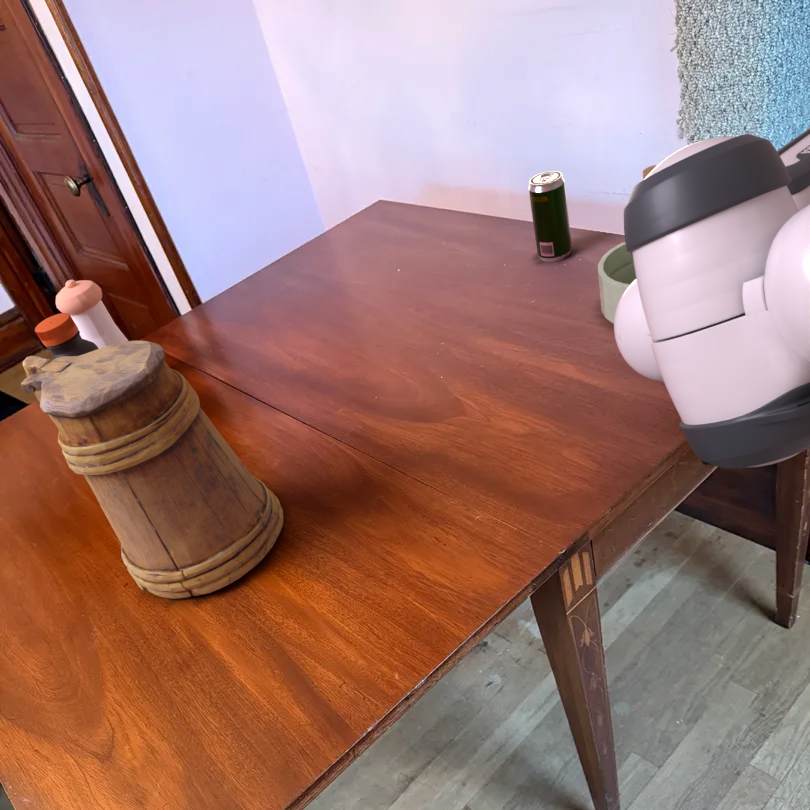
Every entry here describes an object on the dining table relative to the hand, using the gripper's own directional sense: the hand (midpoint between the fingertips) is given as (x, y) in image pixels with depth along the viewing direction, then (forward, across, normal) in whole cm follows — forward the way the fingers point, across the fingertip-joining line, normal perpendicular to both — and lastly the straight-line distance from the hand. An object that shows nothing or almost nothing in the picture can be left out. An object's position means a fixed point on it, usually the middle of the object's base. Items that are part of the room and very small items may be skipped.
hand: (650, 234), depth 95 cm
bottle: (+68, -37, -10) cm, 78 cm away
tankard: (+42, -53, -10) cm, 69 cm away
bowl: (-1, 0, -10) cm, 10 cm away
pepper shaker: (+79, -23, -10) cm, 83 cm away
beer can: (+18, +16, -10) cm, 27 cm away
